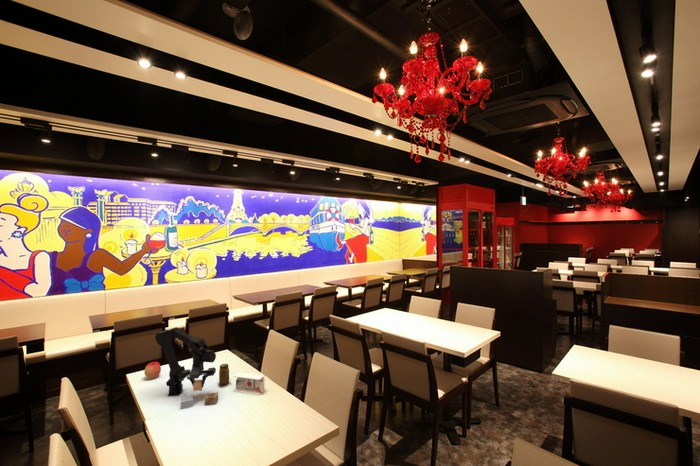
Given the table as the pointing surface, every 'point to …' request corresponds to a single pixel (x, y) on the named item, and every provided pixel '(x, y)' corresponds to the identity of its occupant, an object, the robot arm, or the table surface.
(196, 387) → the terracotta cube
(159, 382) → the table surface
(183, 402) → the slate block
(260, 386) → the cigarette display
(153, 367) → the apple
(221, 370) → the condiment
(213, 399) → the walnut block
